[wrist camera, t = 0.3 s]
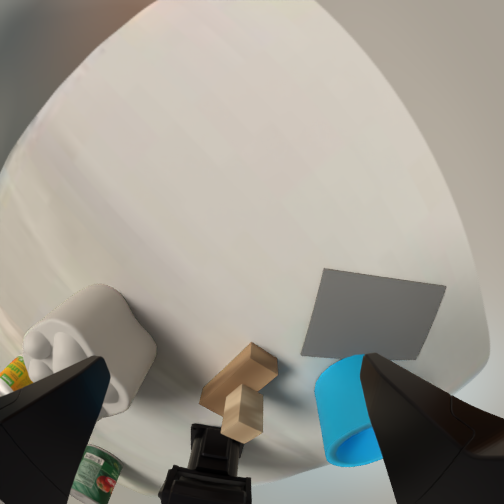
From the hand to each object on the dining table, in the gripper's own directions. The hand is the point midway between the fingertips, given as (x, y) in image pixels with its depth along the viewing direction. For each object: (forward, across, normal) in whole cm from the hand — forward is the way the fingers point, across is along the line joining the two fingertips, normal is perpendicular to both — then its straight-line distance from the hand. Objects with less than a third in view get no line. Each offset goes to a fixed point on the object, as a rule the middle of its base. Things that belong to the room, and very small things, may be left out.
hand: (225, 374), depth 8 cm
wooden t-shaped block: (+14, +1, +13) cm, 19 cm away
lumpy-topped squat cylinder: (+14, +16, +8) cm, 23 cm away
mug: (+14, -11, +16) cm, 24 cm away
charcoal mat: (+14, -11, +7) cm, 19 cm away
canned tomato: (+15, +29, +36) cm, 49 cm away
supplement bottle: (+14, +34, +16) cm, 40 cm away
